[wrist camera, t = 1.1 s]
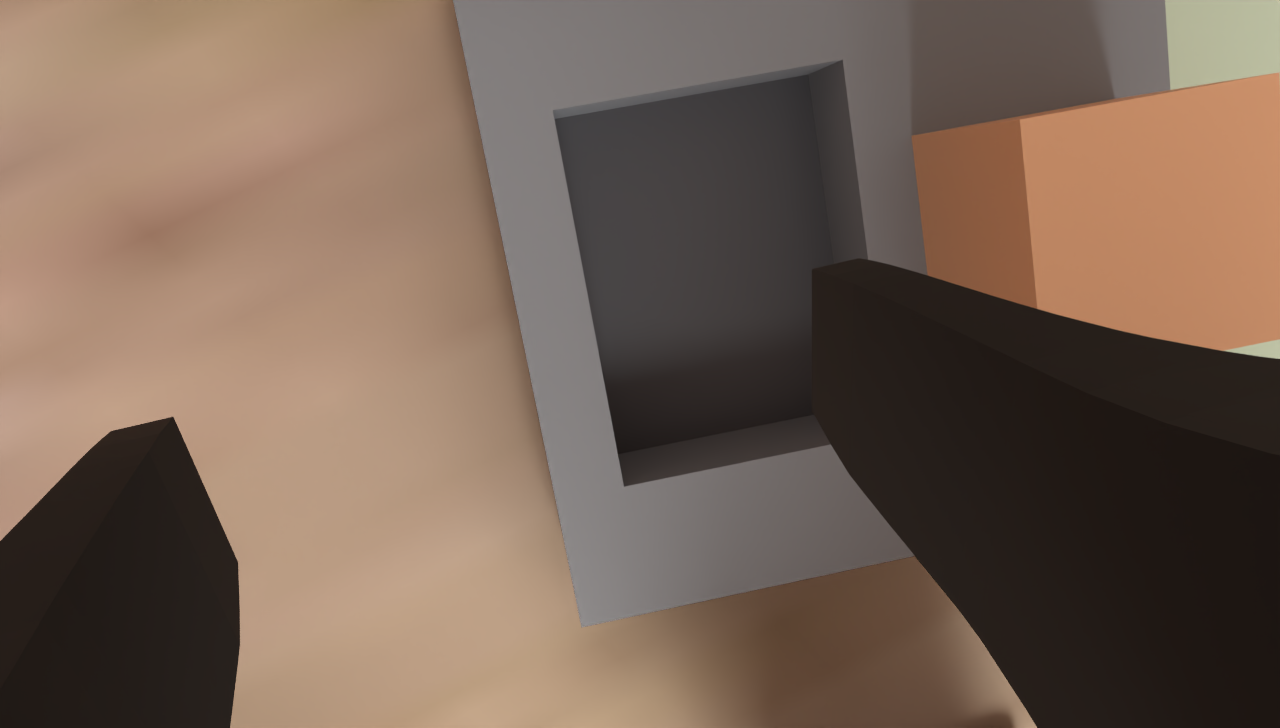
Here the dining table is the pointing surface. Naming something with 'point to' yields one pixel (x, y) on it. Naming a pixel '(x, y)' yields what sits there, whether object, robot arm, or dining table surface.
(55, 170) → the dining table surface
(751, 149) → the trap deck
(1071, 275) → the block
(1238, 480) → the robot arm
